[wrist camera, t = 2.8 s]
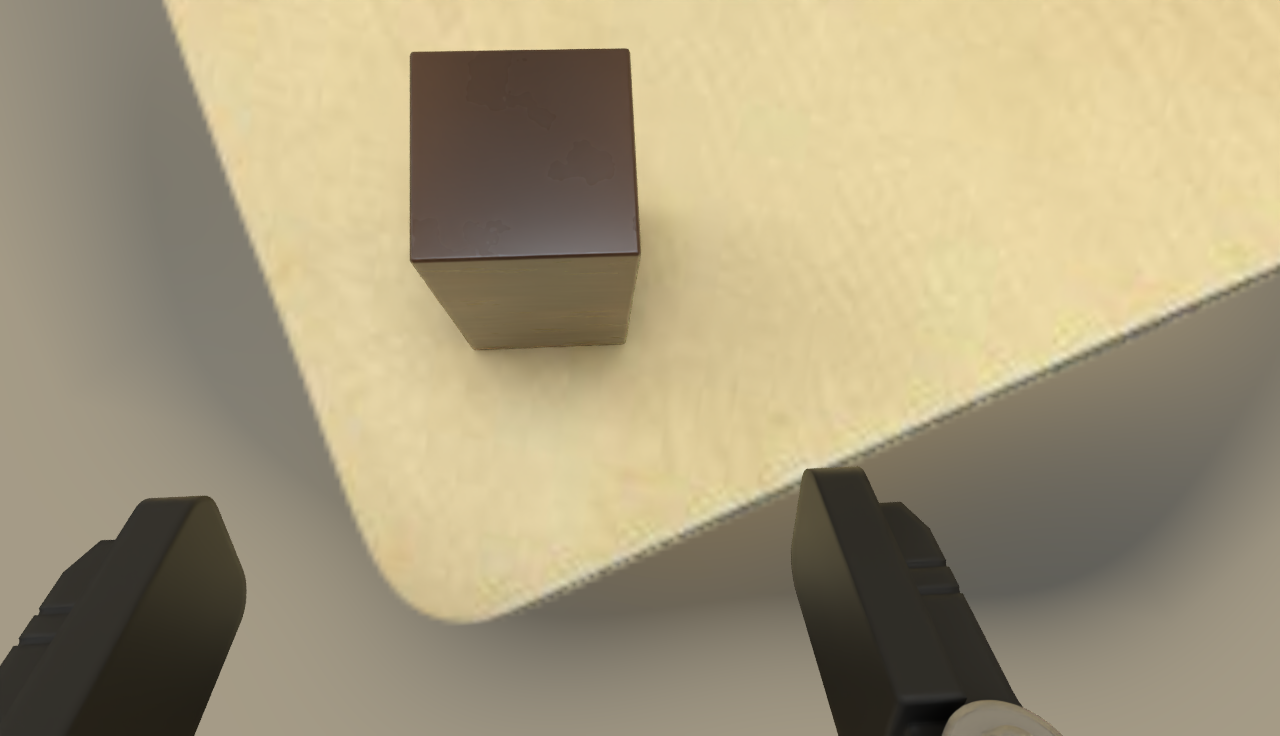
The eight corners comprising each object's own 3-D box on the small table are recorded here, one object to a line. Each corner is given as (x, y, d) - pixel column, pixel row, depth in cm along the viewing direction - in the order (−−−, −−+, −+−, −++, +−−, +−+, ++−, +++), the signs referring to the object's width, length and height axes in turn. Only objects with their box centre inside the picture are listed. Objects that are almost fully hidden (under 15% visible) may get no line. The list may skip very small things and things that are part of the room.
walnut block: (472, 350, 23) (408, 262, 15) (470, 205, 24) (408, 50, 16) (625, 344, 23) (641, 254, 15) (618, 201, 24) (629, 46, 16)
